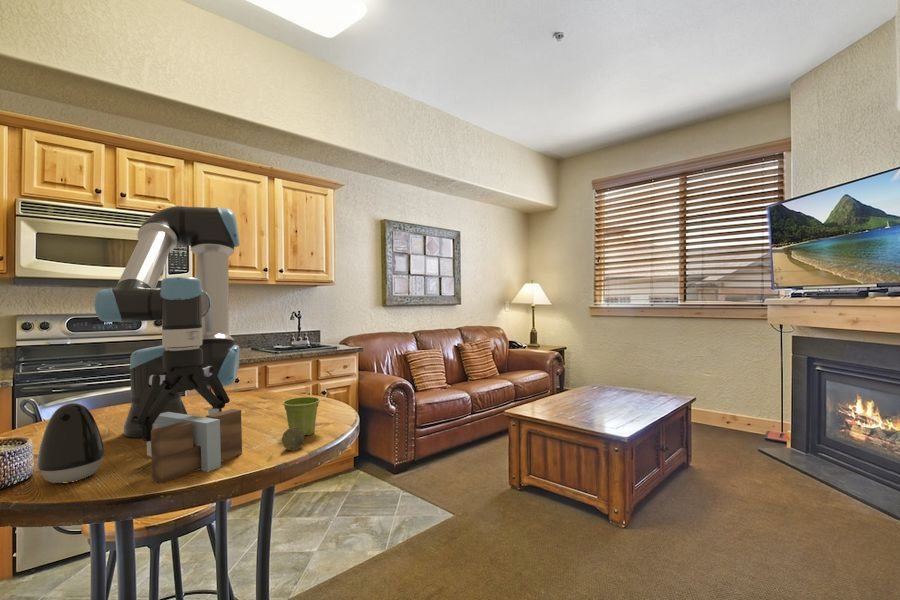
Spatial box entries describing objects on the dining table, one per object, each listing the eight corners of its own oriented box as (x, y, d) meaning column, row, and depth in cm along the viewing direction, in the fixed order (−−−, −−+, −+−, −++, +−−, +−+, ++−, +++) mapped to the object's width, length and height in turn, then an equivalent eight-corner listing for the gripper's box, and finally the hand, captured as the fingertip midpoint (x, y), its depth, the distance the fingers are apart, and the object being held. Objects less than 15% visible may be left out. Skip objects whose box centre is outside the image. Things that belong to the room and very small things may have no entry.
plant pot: (326, 428, 121) (325, 396, 121) (312, 439, 111) (311, 404, 111) (293, 428, 122) (292, 396, 122) (276, 439, 112) (275, 404, 112)
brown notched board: (152, 481, 87) (150, 430, 87) (233, 451, 103) (232, 408, 103) (161, 483, 86) (159, 431, 86) (242, 453, 102) (241, 410, 102)
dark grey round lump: (307, 446, 106) (306, 425, 106) (294, 453, 101) (293, 431, 101) (291, 445, 107) (290, 424, 107) (277, 451, 103) (277, 430, 103)
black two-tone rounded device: (27, 494, 83) (25, 412, 83) (50, 474, 92) (48, 401, 92) (95, 483, 87) (93, 405, 87) (111, 466, 96) (109, 395, 96)
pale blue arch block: (155, 459, 99) (154, 414, 99) (168, 455, 102) (167, 411, 102) (207, 471, 91) (206, 423, 91) (221, 466, 94) (219, 419, 94)
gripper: (130, 356, 84) (133, 468, 84) (244, 342, 106) (246, 431, 106) (108, 354, 87) (111, 462, 87) (223, 342, 110) (225, 428, 110)
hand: (185, 445), depth 97 cm, fingers open, 13 cm apart
